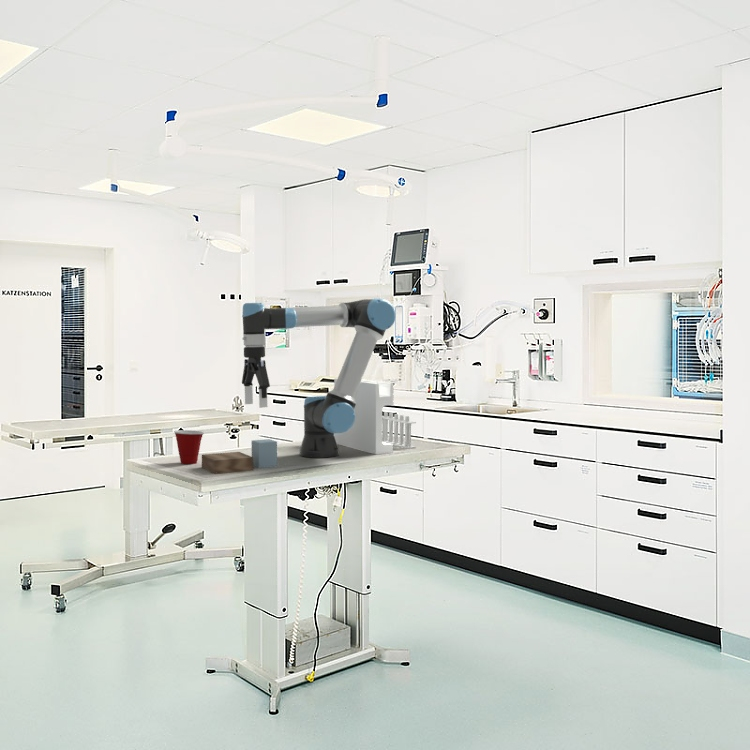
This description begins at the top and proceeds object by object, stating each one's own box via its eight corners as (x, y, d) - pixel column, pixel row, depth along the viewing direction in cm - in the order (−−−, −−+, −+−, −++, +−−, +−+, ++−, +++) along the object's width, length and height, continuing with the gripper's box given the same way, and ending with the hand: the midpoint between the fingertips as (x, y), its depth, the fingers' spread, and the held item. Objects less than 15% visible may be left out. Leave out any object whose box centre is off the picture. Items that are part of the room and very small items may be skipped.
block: (334, 443, 348) (334, 378, 346) (350, 441, 352) (350, 377, 350) (375, 454, 318) (376, 383, 316) (393, 453, 322) (393, 383, 320)
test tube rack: (377, 441, 354) (377, 411, 353) (385, 440, 356) (386, 411, 355) (407, 449, 332) (407, 417, 331) (416, 448, 334) (416, 416, 334)
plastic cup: (210, 463, 295) (209, 430, 295) (183, 466, 288) (182, 433, 287) (195, 459, 303) (195, 427, 303) (169, 462, 296) (168, 430, 296)
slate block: (269, 463, 296) (269, 439, 296) (277, 466, 290) (277, 441, 290) (251, 465, 293) (251, 440, 292) (258, 468, 287) (258, 442, 286)
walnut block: (239, 465, 294) (239, 451, 294) (253, 471, 282) (253, 457, 282) (201, 468, 287) (201, 454, 287) (214, 474, 275) (214, 460, 275)
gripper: (231, 345, 295) (233, 403, 297) (257, 347, 274) (259, 409, 276) (251, 345, 299) (252, 401, 301) (278, 346, 278) (279, 407, 279)
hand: (256, 405), depth 288 cm, fingers open, 13 cm apart
